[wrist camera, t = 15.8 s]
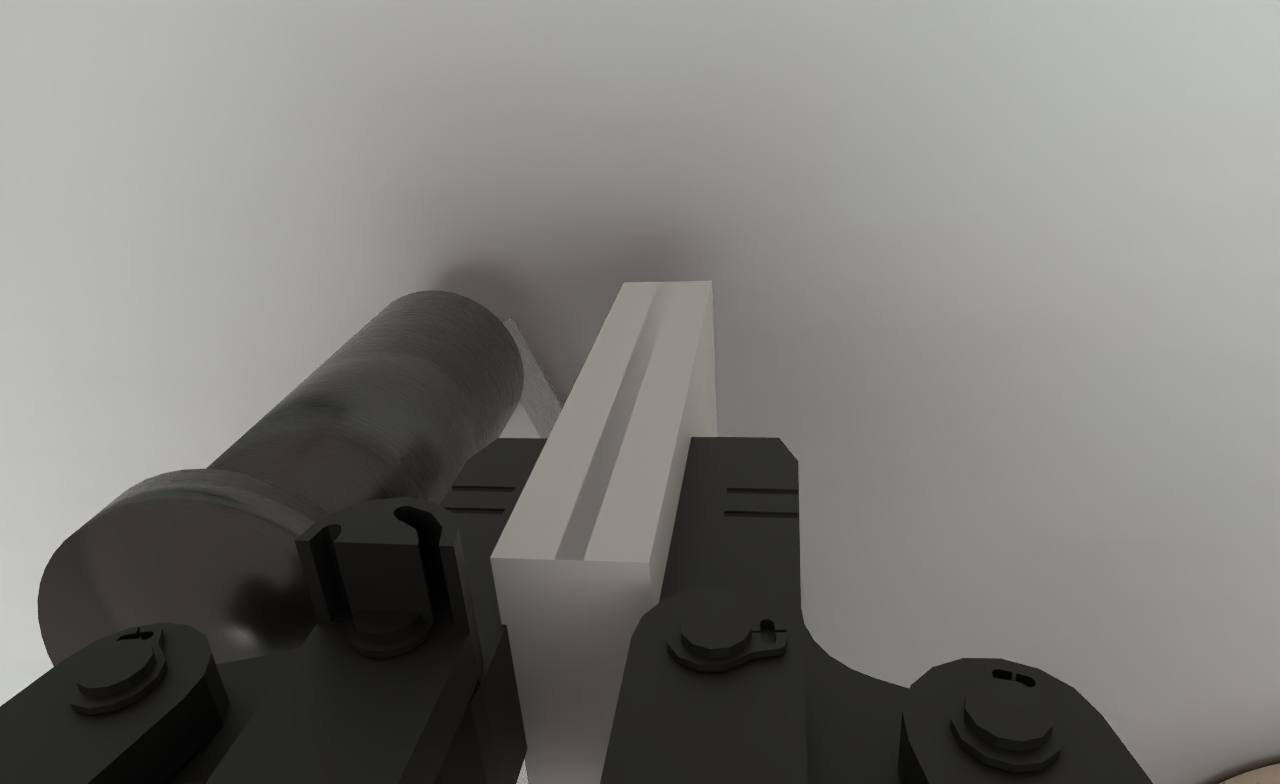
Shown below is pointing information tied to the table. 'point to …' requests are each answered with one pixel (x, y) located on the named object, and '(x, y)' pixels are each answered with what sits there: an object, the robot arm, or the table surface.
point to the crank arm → (298, 483)
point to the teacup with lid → (1258, 776)
